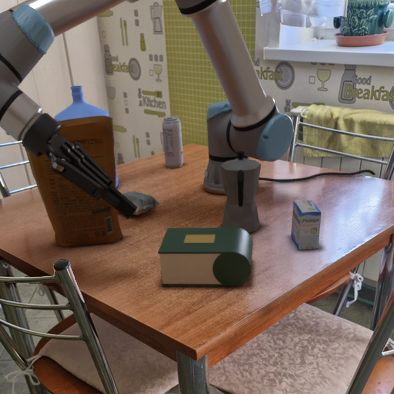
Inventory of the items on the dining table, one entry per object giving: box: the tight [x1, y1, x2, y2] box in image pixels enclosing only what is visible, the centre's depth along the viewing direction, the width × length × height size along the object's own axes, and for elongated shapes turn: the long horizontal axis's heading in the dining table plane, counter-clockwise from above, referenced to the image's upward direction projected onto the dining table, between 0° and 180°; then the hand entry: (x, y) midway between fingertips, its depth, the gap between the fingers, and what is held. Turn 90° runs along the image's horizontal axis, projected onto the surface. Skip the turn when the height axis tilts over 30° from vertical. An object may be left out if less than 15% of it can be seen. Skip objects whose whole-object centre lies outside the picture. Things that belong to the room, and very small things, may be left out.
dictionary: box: [157, 226, 254, 288], centre depth 106 cm, size 18×12×8 cm, turn 84°
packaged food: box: [122, 190, 161, 216], centre depth 138 cm, size 9×12×5 cm
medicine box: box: [290, 199, 322, 251], centre depth 115 cm, size 8×4×9 cm, turn 5°
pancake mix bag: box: [24, 116, 124, 248], centre depth 116 cm, size 7×19×28 cm, turn 96°
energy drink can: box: [161, 115, 184, 169], centre depth 169 cm, size 6×6×15 cm
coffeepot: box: [220, 151, 262, 234], centre depth 121 cm, size 15×9×18 cm, turn 176°
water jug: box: [53, 85, 119, 188], centre depth 150 cm, size 16×16×28 cm
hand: (132, 213), depth 103 cm, fingers closed
